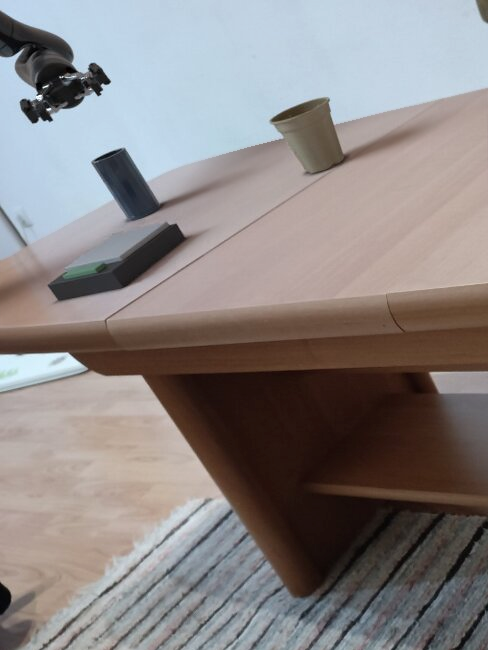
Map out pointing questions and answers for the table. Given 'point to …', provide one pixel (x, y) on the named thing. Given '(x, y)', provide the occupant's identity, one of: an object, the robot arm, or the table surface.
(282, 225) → the table surface
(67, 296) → the scale
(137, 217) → the cup
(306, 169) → the flower pot
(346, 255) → the table surface
